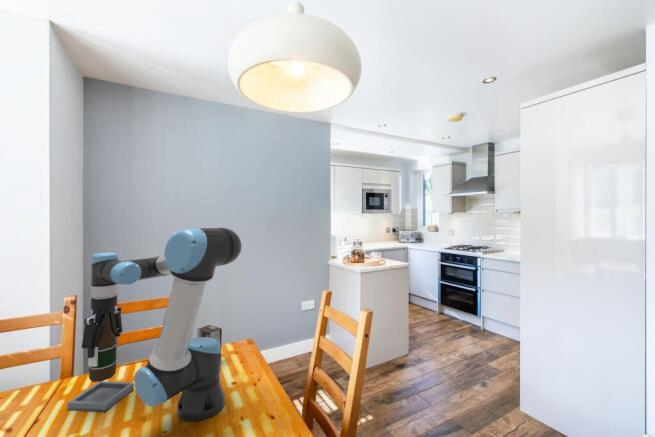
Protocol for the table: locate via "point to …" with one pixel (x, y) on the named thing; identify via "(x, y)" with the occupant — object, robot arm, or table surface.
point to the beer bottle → (105, 354)
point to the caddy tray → (100, 396)
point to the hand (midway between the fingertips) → (103, 360)
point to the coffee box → (211, 334)
